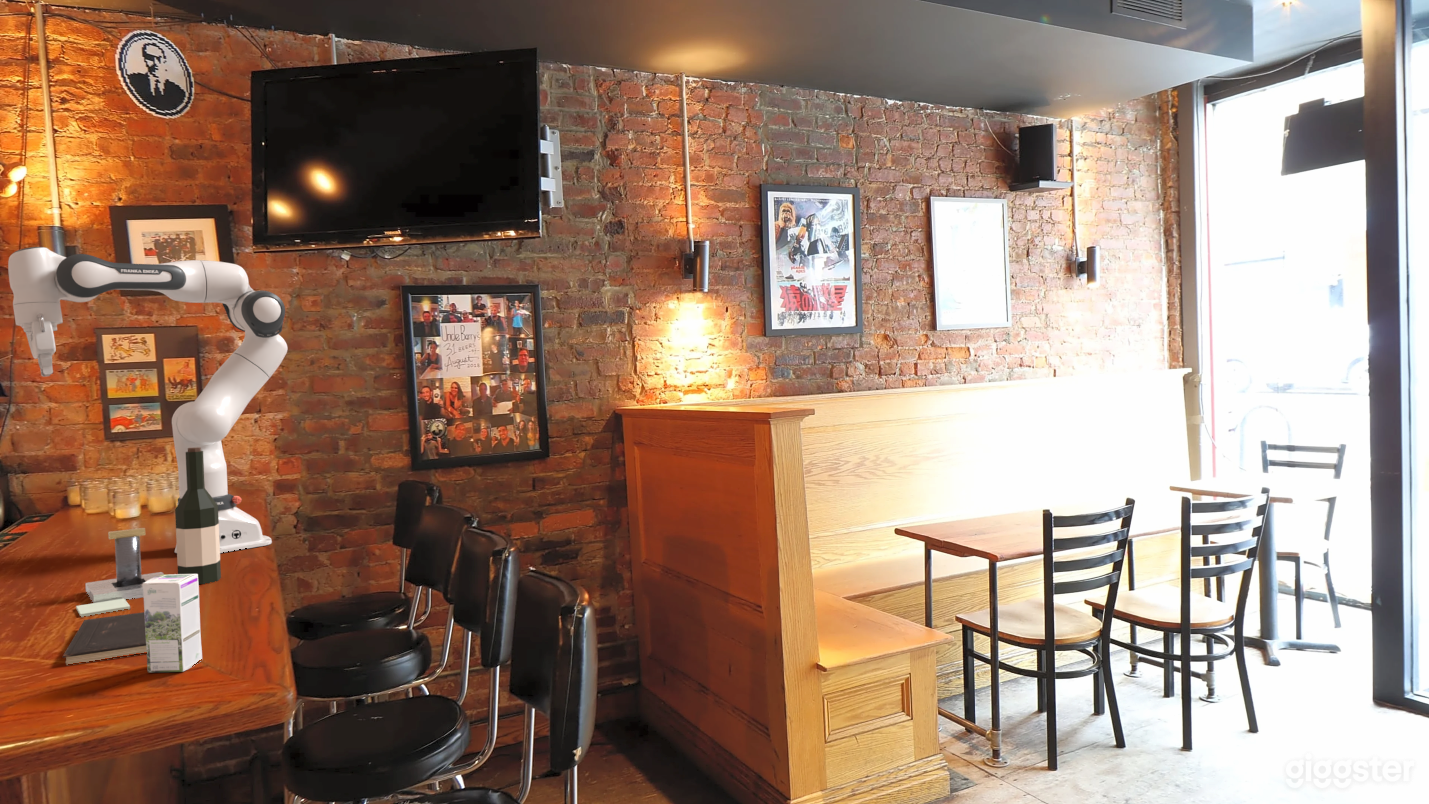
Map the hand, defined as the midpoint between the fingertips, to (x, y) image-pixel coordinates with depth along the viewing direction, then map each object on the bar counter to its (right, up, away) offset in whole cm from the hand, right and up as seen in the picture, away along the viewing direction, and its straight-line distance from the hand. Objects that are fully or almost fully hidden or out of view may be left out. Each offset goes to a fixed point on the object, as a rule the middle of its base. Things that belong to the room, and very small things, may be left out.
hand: (47, 375), depth 206 cm
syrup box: (+72, -49, -67) cm, 110 cm away
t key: (+32, -47, -19) cm, 60 cm away
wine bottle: (+42, -47, -10) cm, 64 cm away
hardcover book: (+54, -49, -52) cm, 90 cm away
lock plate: (+32, -47, -19) cm, 60 cm away
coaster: (+36, -48, -32) cm, 68 cm away
